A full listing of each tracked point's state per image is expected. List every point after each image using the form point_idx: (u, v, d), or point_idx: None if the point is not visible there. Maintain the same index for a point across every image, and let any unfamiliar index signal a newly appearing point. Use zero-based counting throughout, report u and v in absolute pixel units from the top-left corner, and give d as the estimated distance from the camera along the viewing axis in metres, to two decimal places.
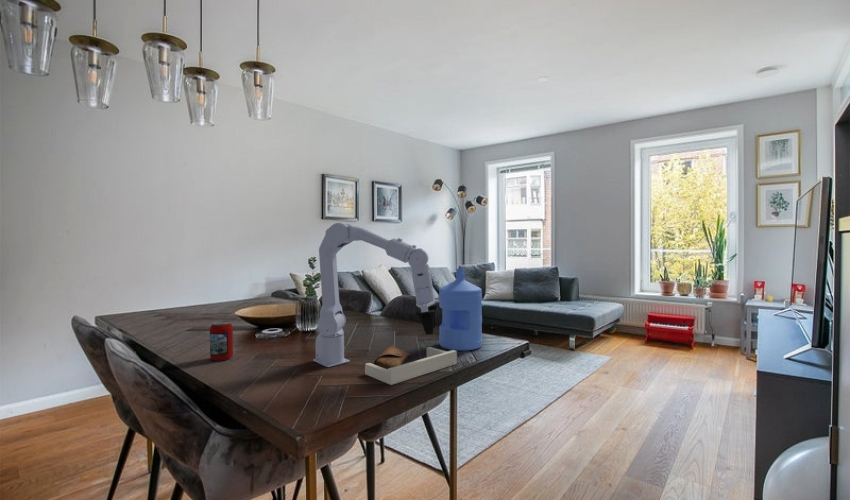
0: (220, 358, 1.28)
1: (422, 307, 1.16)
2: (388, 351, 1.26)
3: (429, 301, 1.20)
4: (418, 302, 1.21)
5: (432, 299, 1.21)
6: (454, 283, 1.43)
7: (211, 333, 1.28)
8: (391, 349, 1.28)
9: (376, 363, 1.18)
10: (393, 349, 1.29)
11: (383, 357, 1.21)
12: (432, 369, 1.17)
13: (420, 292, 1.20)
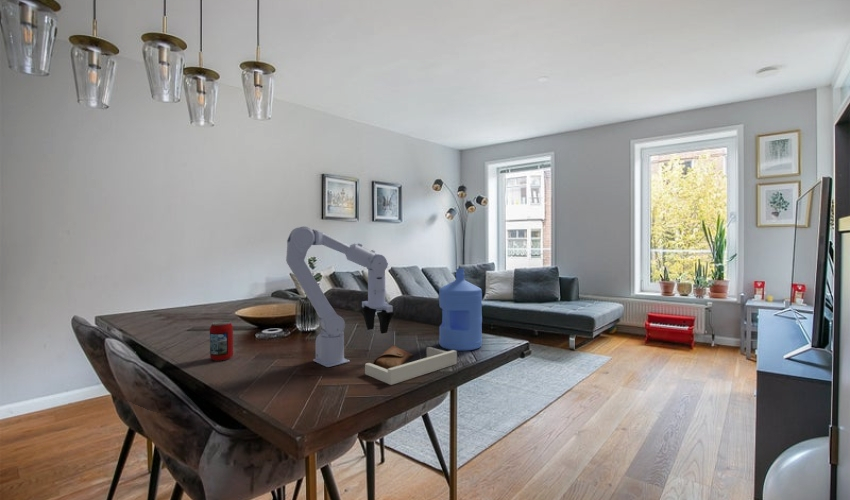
0: (220, 358, 1.28)
1: (389, 307, 1.27)
2: (389, 351, 1.26)
3: (384, 303, 1.31)
4: (375, 303, 1.29)
5: None
6: (454, 283, 1.43)
7: (211, 333, 1.28)
8: (393, 349, 1.28)
9: (376, 363, 1.19)
10: (395, 349, 1.28)
11: (383, 357, 1.21)
12: (432, 369, 1.17)
13: (379, 294, 1.30)
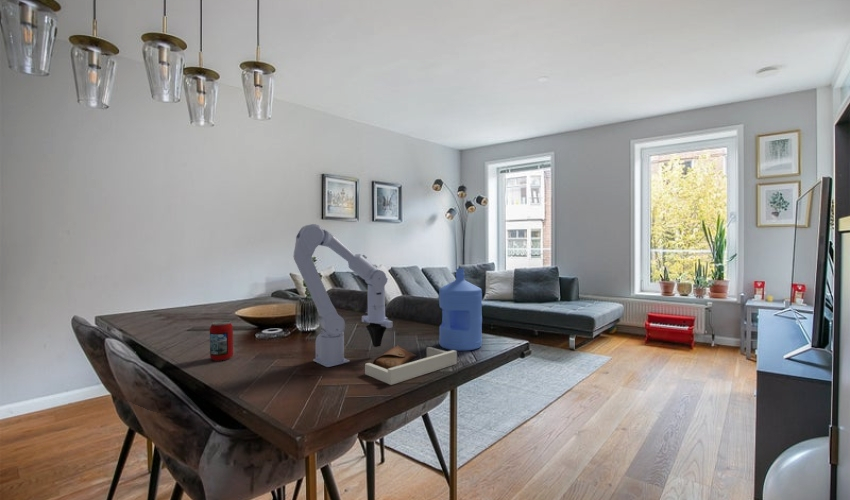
0: (220, 358, 1.28)
1: (389, 323, 1.27)
2: (391, 351, 1.26)
3: (384, 318, 1.32)
4: (375, 319, 1.30)
5: None
6: (454, 283, 1.43)
7: (211, 333, 1.28)
8: (395, 349, 1.28)
9: (375, 363, 1.19)
10: (397, 349, 1.28)
11: (383, 357, 1.21)
12: (432, 369, 1.17)
13: (379, 309, 1.30)
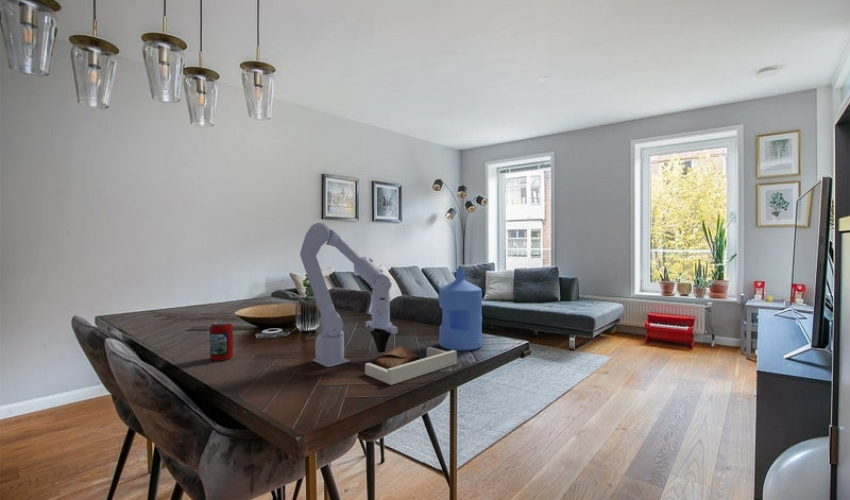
0: (220, 358, 1.28)
1: (394, 329, 1.25)
2: (392, 351, 1.26)
3: (389, 323, 1.30)
4: (379, 324, 1.28)
5: (389, 322, 1.31)
6: (454, 283, 1.43)
7: (211, 333, 1.28)
8: (396, 349, 1.28)
9: (375, 362, 1.19)
10: (399, 350, 1.28)
11: (384, 357, 1.21)
12: (432, 369, 1.17)
13: (384, 315, 1.28)
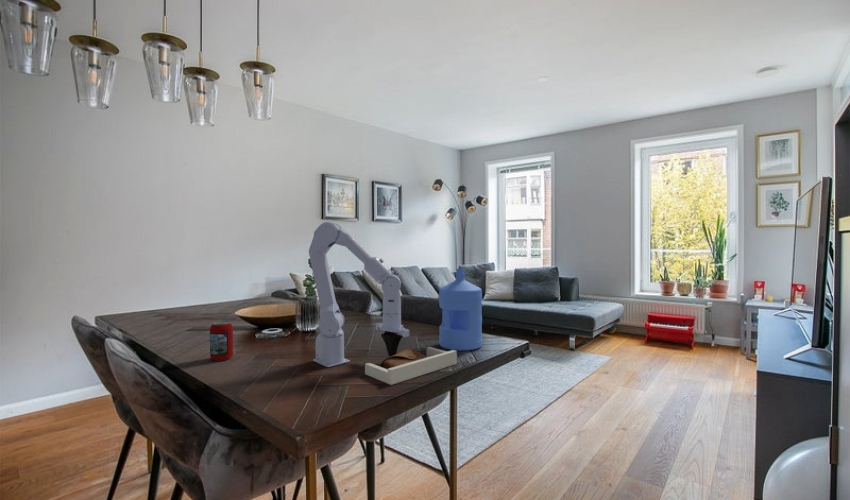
0: (220, 358, 1.28)
1: (406, 332, 1.21)
2: (401, 353, 1.24)
3: (400, 326, 1.26)
4: (390, 327, 1.24)
5: None
6: (454, 283, 1.43)
7: (211, 333, 1.28)
8: (406, 351, 1.26)
9: (383, 364, 1.18)
10: (408, 351, 1.27)
11: (392, 358, 1.20)
12: (432, 369, 1.17)
13: (395, 317, 1.24)
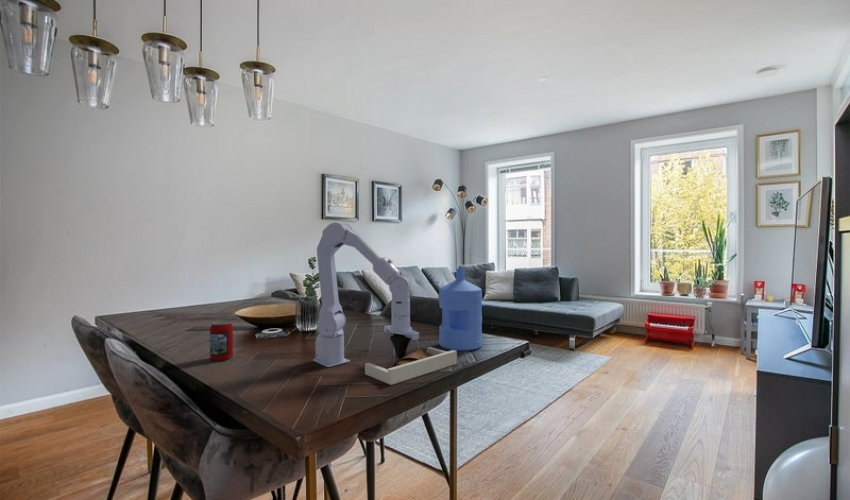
0: (220, 358, 1.28)
1: (415, 334, 1.18)
2: (412, 354, 1.22)
3: (409, 328, 1.22)
4: (399, 329, 1.21)
5: None
6: (454, 283, 1.43)
7: (211, 333, 1.28)
8: (417, 352, 1.25)
9: (395, 366, 1.16)
10: (419, 352, 1.25)
11: (404, 360, 1.18)
12: (432, 369, 1.17)
13: (404, 319, 1.21)
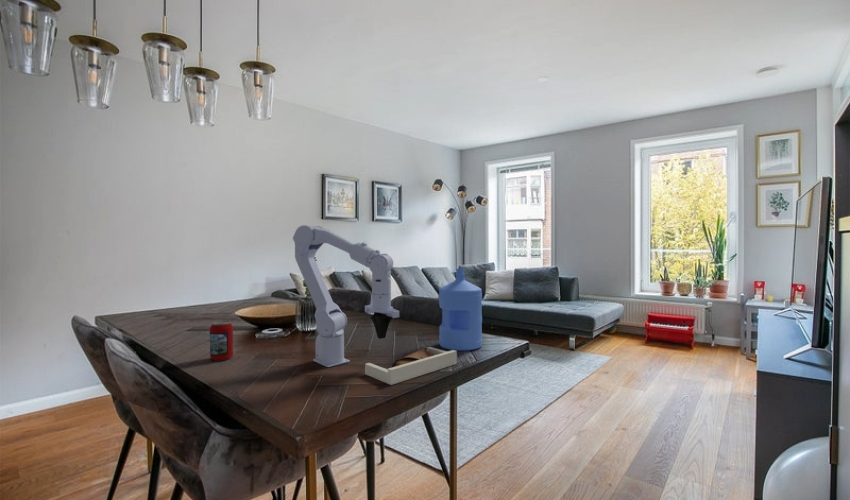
0: (220, 358, 1.28)
1: (395, 312, 1.17)
2: (413, 354, 1.22)
3: (390, 307, 1.21)
4: (380, 308, 1.19)
5: (390, 305, 1.22)
6: (454, 283, 1.43)
7: (211, 333, 1.28)
8: (418, 352, 1.24)
9: (394, 365, 1.16)
10: (420, 352, 1.24)
11: (404, 360, 1.18)
12: (432, 369, 1.17)
13: (385, 298, 1.19)
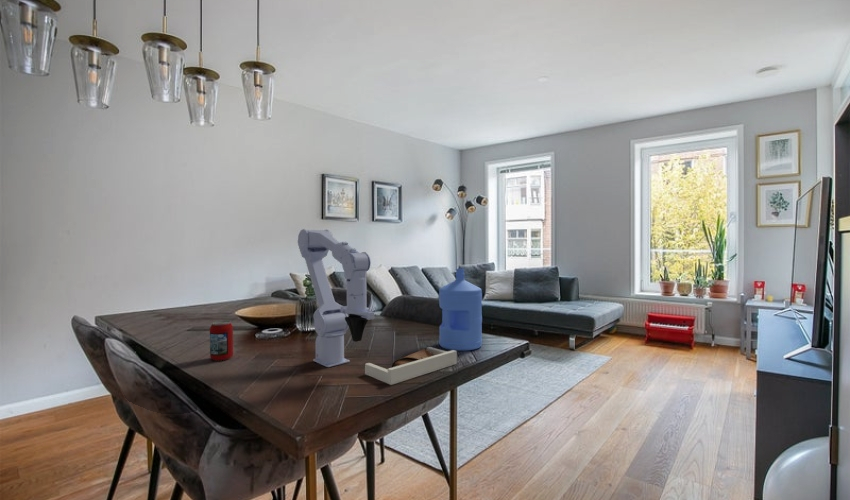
0: (220, 358, 1.28)
1: (370, 314, 1.10)
2: (413, 354, 1.22)
3: (365, 308, 1.15)
4: (354, 309, 1.13)
5: (366, 306, 1.16)
6: (454, 283, 1.43)
7: (211, 333, 1.28)
8: (419, 353, 1.24)
9: (394, 365, 1.16)
10: (421, 353, 1.24)
11: (404, 360, 1.18)
12: (432, 369, 1.17)
13: (359, 298, 1.13)
